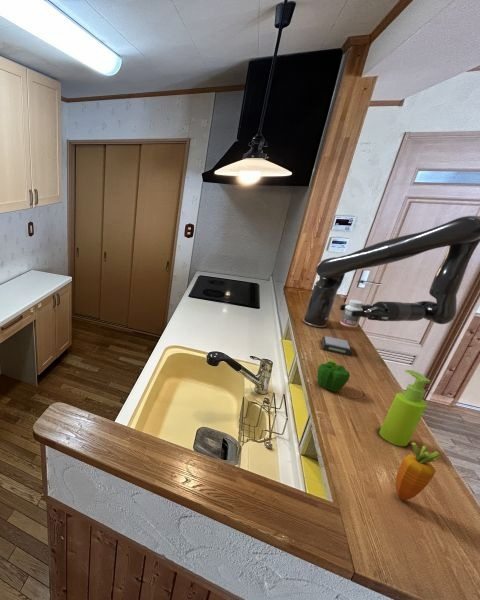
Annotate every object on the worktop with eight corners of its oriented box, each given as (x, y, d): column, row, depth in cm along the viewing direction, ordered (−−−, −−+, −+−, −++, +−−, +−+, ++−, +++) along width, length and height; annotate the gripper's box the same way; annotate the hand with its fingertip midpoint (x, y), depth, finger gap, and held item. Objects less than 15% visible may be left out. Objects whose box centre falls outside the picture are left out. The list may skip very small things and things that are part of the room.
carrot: (380, 489, 74) (405, 439, 69) (399, 488, 75) (426, 438, 69) (402, 510, 70) (430, 458, 64) (422, 509, 70) (453, 457, 65)
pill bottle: (344, 320, 130) (352, 298, 126) (360, 326, 125) (368, 302, 122) (337, 323, 128) (344, 300, 124) (352, 328, 123) (360, 305, 120)
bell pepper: (344, 386, 111) (354, 361, 107) (342, 397, 105) (351, 371, 102) (315, 376, 116) (323, 352, 113) (311, 386, 111) (320, 361, 107)
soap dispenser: (393, 428, 93) (420, 369, 86) (413, 447, 86) (445, 384, 79) (371, 426, 93) (396, 367, 86) (390, 445, 87) (419, 383, 80)
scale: (321, 341, 143) (323, 335, 141) (346, 346, 138) (348, 340, 137) (322, 349, 135) (324, 343, 134) (349, 355, 131) (352, 349, 130)
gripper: (378, 295, 129) (336, 294, 130) (412, 309, 116) (364, 308, 116) (372, 312, 132) (330, 312, 133) (404, 328, 119) (357, 327, 119)
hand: (346, 310), depth 124 cm, fingers closed on pill bottle, 5 cm apart
